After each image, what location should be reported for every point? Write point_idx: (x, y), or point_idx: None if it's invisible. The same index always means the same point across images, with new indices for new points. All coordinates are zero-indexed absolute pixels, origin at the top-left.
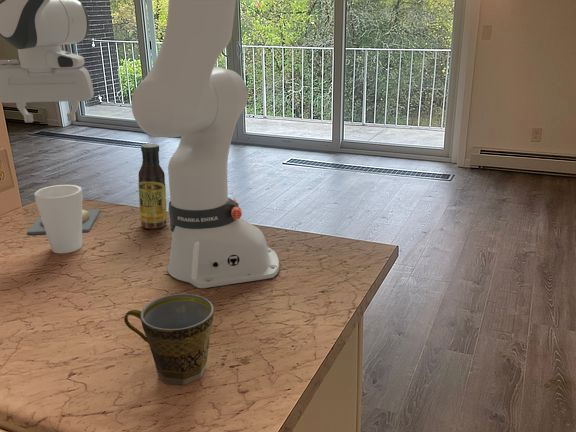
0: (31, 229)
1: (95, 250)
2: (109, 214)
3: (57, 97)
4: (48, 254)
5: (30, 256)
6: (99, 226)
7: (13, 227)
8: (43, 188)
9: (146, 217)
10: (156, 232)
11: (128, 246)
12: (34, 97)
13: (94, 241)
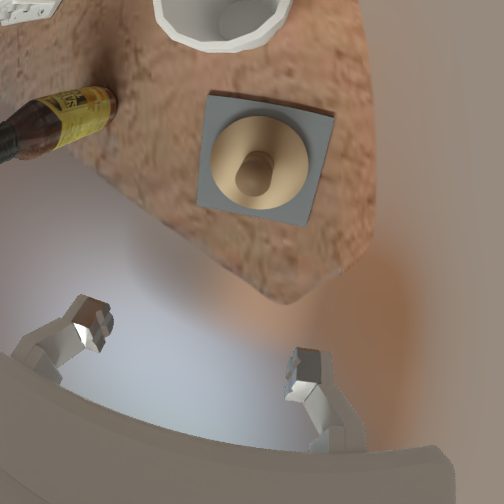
0: (326, 128)
1: None
2: (179, 181)
3: (62, 414)
4: None
5: (314, 4)
6: (191, 118)
7: (360, 169)
8: (269, 25)
9: (94, 88)
10: (96, 74)
11: (138, 17)
12: (228, 475)
13: None
